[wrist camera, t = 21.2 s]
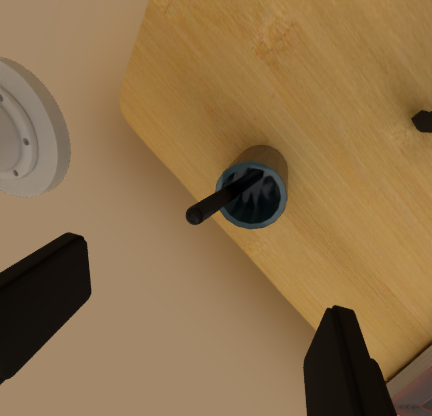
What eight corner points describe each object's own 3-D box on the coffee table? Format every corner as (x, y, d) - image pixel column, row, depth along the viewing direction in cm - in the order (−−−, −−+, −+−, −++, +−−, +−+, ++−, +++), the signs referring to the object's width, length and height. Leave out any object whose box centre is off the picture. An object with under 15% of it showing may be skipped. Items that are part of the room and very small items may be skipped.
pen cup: (230, 190, 28) (211, 220, 21) (239, 140, 26) (220, 154, 19) (280, 201, 27) (276, 236, 20) (293, 150, 25) (295, 169, 18)
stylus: (252, 177, 27) (181, 224, 16) (255, 166, 26) (182, 207, 15) (263, 180, 26) (197, 230, 15) (266, 169, 26) (199, 213, 15)
